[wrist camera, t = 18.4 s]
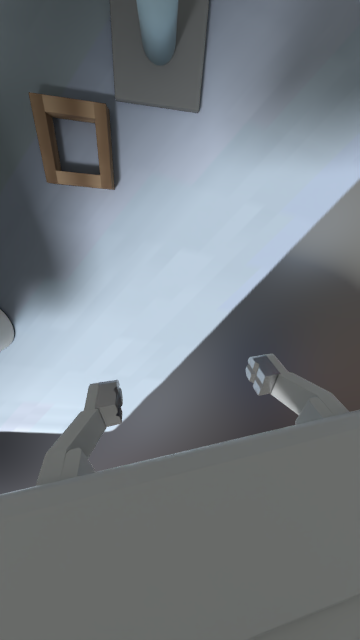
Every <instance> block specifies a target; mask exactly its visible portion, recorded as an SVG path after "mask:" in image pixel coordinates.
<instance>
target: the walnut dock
mask: <svg viewBox="0 0 360 640" xmlns="http://www.w3.org/2000/svg"><path fill="white" fill-rule="evenodd" d="M29 97H30V102H31V107H32V112H33V117H34V122H35V127H36V132H37V136H38V141H39V146H40V151H41V156H42V161H43V166H44V171H45V175H46V180H47V182H48V183H53V184H62V185H72V186H82V187H92V188H102V189H111V190H115V189H114V174H113V159H112V144H111V129H110V114H109V109H108V107H107V105H106V104H104V103H97V102H91V101H84V100H77V99H70V98H64V97H57V96H50V95H43V94H37V93H30V92H29ZM52 117H53V118H60V119H68V120H75V121H82V122H90V123H95V126H96V136H97V147H98V157H99V168H100V175H92V174H83V173H74V172H64V171H61V165H60V159H59V153H58V147H57V141H56V136H55V130H54V124H53V118H52Z"/></svg>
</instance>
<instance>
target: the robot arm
mask: <svg viewBox="0 0 360 640" xmlns="http://www.w3.org/2000/svg"><path fill="white" fill-rule="evenodd" d="M13 338H14V330H13V326H12V324H11V322H10V320H9V319H8V317H7V316H6V315H5V314H4V312H3V311H2V310H0V352H1V351H2V350H4V349H6V348H7V347H8V346H9V345H10V344H11V343H12V341H13ZM248 363H249V364H248V366H247V367H246V375H247V377H248V379H249V381H251V382H252V383H253V388H254V389H255V391H256V392H257V394H258V395H265V394H270V393H271V395H273V396H274V397H275V398H277V399H278V400H279V401H281V402H282V403H284V404H285V405H286V406H288V407H289V408H290V409H291V410H293V411H294V412H295V413H297V414H298V415H299V416H298V418H297V420H296V422H295V423H296V425H293V426H289V427H285V428H281V429H276V430H272V431H268V432H264V433H260V434H255V435H251V436H247V437H242V438H238V439H235V440H230V441H226V442H221V443H217V444H213V445H208V446H204V447H200V448H196V449H192V450H187V451H183V452H179V453H175V454H170V455H166V456H162V457H158V458H154V459H149V460H145V461H141V462H136V463H132V464H128V465H124V466H120V467H115V468H111V469H107V470H103V471H98V472H95V469H94V468H93V466H92V465H91V463H90V462H89V460H88V458H89V457H90V455H91V453H92V451H93V450H94V448H95V446H96V445H97V443H98V441H99V439H100V438H101V436H102V434H103V433H104V431H105V429H106V427H108V426H112V425H117V424H121V423H122V410H121V406H122V404H123V399H122V391H121V388H119V381H118V380H114V381H107V382H100V383H94V384H90V386H89V388H88V393H87V398H86V403H85V408H84V411H82V412H80V413H79V415H78V416H77V417H76V418H75V419H74V421H73V422H72V423H71V424H70V425H69V427H68V428H67V429H66V430H65V431H64V433H63V434H62V435H61V436H60V437H59V439H58V440H57V441H56V442H55V443H54V444H53V446H52V447H51V448H50V449H49V450H48V452H47V453H46V454H45V458H44V461H43V464H42V467H41V470H40V474H39V477H38V480H37V483H36V486H35V487H31V488H27V489H23V490H18V491H14V492H9V493H5V494H1V495H0V640H360V410H357V411H353V412H349V411H348V410H347V409H346V408H345V407H344V406H343V405H342V404H341V403H340V402H339V401H338V400H337V398H336V397H334V395H333V394H332V393H330V392H328V391H326V390H325V389H322V388H321V387H319V386H317V385H315V384H313V383H311V382H309V381H307V380H305V379H303V378H301V377H299V376H297V375H296V374H294V373H292V372H288V371H287V370H286V369H285V367H284V366H283V365H282V364H281V363H280V361H279V360H278V359H277V358H276V357H275V355H274V354H267V355H260V356H255V357H250V358H249V360H248Z"/></svg>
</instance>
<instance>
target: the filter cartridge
mask: <svg viewBox="0 0 360 640" xmlns="http://www.w3.org/2000/svg"><path fill="white" fill-rule="evenodd" d="M136 2H137V9H138V16H139V23H140V30H141V38H142V45H143V49H144V52H145V54H146V56H147V57H148V59H149V60H150V61H151V62H152V63H154V64H155V65H160V66H161V65H165V64H167V63H168V62H169V61H170V60H171V58H172V56H173V54H174V51H175V45H176V30H177V14H178V0H136Z"/></svg>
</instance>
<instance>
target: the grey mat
mask: <svg viewBox="0 0 360 640" xmlns="http://www.w3.org/2000/svg"><path fill="white" fill-rule="evenodd" d="M208 7H209V0H178V14H177V30H176V45H175V51H174V54H173V56H172V58H171V60H170V61H169V62H168V63H167V64H165V65H161V66H160V65H155V64H154V63H152V62H151V61H150V60H149V59H148V57H147V56H146V54H145V52H144V49H143V45H142V38H141V30H140V23H139V16H138V9H137V2H136V0H110V14H111V32H112V50H113V69H114V87H115V99H116V101H120V102H127V103H133V104H140V105H146V106H153V107H160V108H166V109H173V110H179V111H186V112H193V113H198V112H199V103H200V93H201V82H202V71H203V60H204V50H205V39H206V28H207V18H208Z"/></svg>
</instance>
